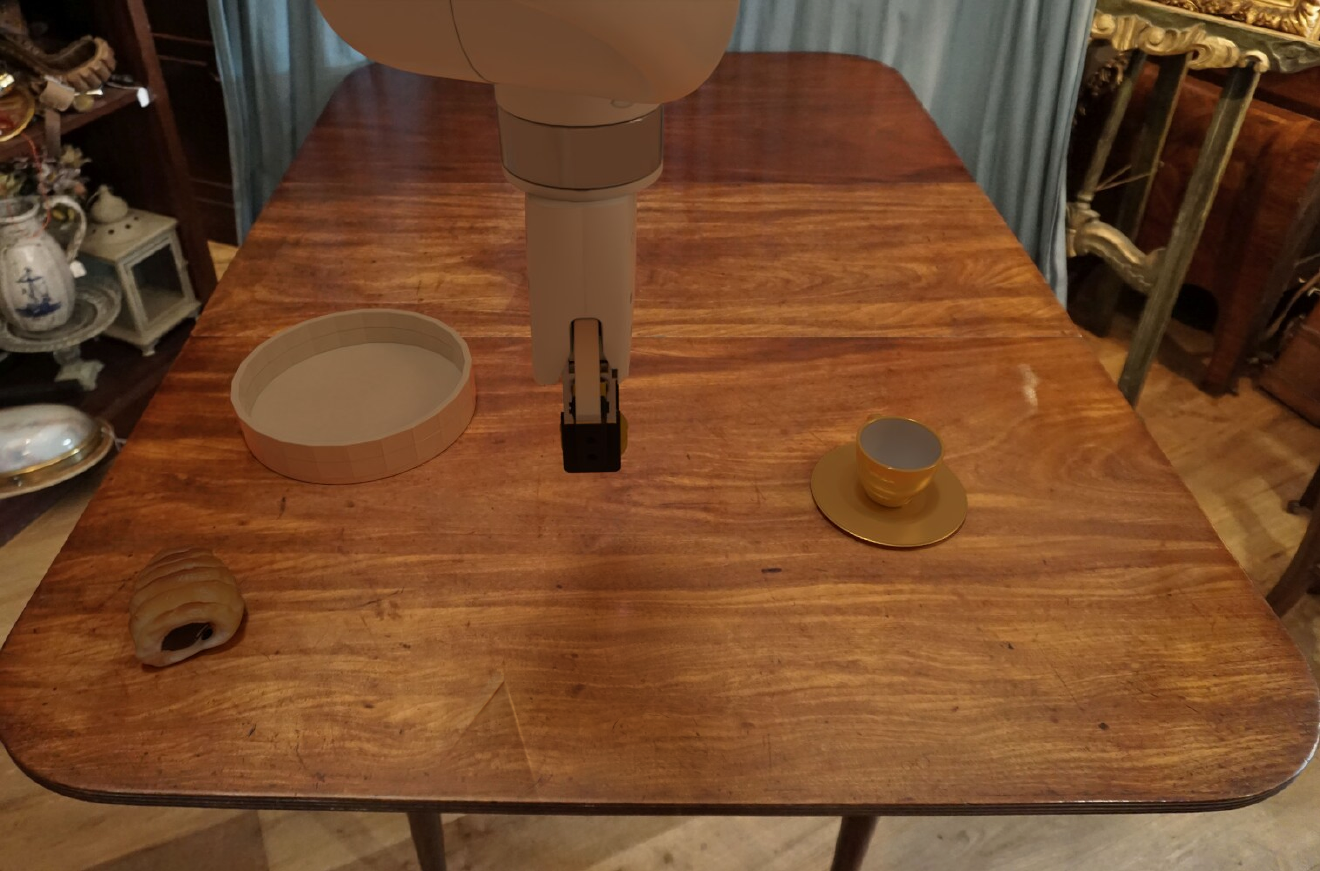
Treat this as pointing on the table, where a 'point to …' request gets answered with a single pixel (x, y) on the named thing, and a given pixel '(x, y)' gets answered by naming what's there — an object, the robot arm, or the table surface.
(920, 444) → the cup
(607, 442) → the robot arm
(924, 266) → the table surface
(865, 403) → the table surface
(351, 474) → the bowl
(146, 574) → the pastry
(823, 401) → the table surface
